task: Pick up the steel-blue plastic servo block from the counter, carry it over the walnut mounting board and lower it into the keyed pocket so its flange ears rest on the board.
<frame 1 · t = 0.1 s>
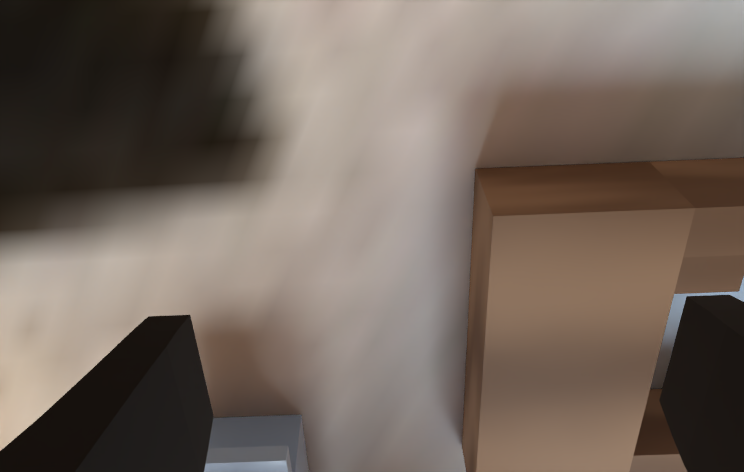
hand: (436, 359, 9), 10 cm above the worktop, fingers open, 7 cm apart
board: (698, 317, 22), on the worktop
servo: (263, 459, 25), on the worktop
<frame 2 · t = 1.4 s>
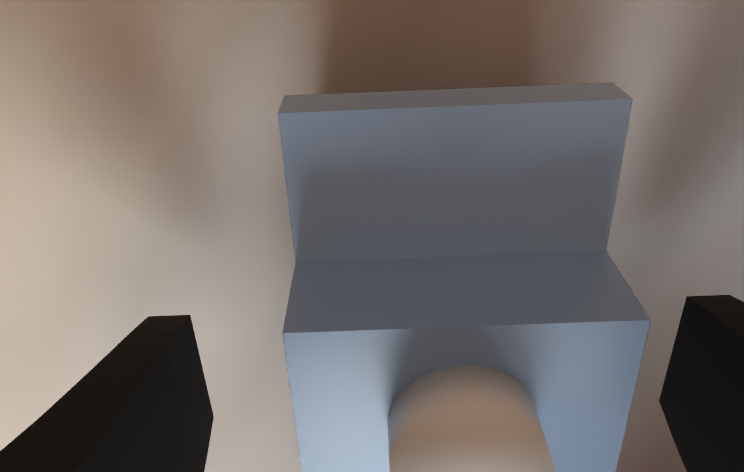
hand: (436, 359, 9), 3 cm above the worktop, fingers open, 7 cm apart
servo: (424, 266, 12), on the worktop
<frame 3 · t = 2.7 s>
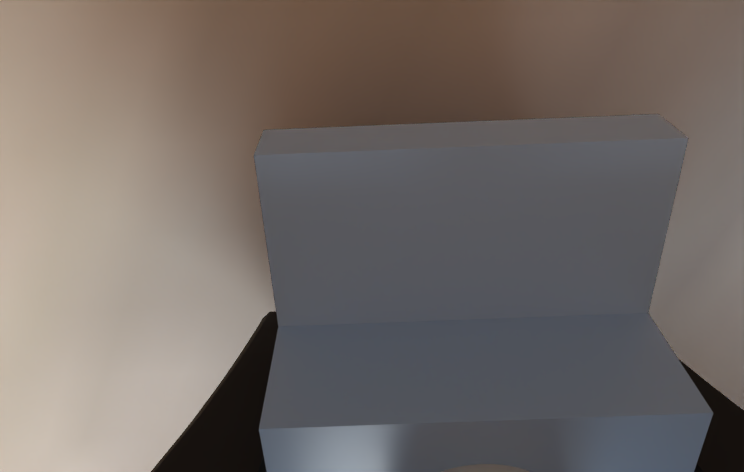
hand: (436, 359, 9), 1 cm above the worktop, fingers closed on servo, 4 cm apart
servo: (427, 302, 11), on the worktop, touching gripper
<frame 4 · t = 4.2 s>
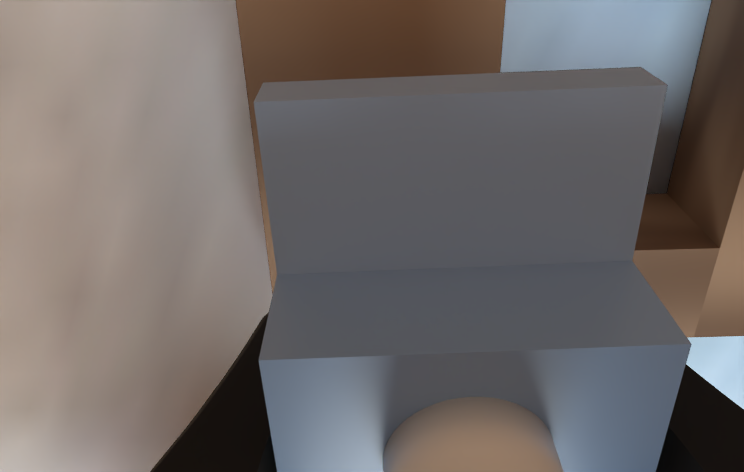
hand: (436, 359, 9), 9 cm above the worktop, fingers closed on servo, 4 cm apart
board: (584, 79, 16), on the worktop
servo: (422, 273, 11), point 7 cm above the worktop, touching gripper
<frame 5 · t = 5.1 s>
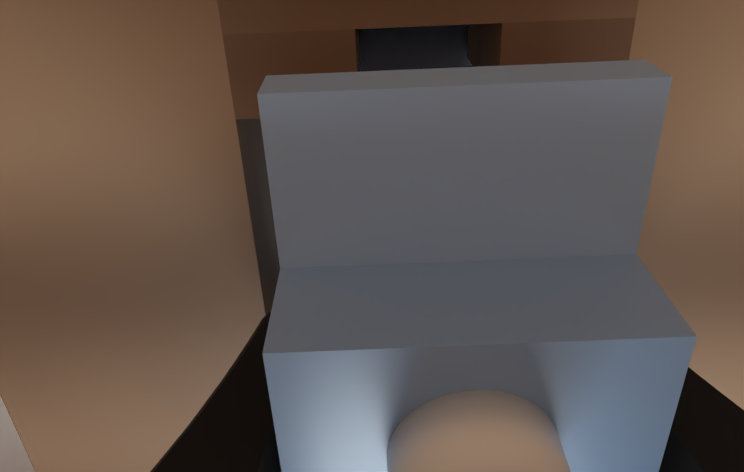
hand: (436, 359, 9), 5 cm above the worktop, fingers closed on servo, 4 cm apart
board: (414, 214, 13), on the worktop
servo: (424, 270, 11), point 3 cm above the worktop, touching gripper
when the fingers open (4 cm above the worktop, at t = 5.7 s): servo drops 2 cm, resting on board.
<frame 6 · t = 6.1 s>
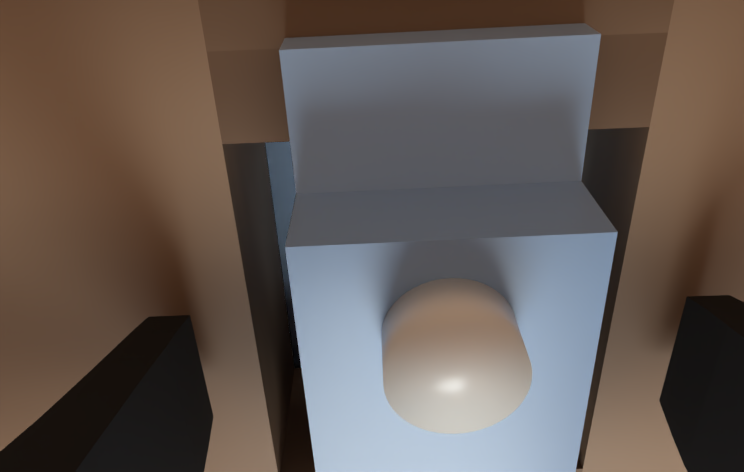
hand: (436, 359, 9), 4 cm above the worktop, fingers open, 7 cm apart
board: (418, 237, 12), on the worktop
servo: (417, 220, 12), resting on board
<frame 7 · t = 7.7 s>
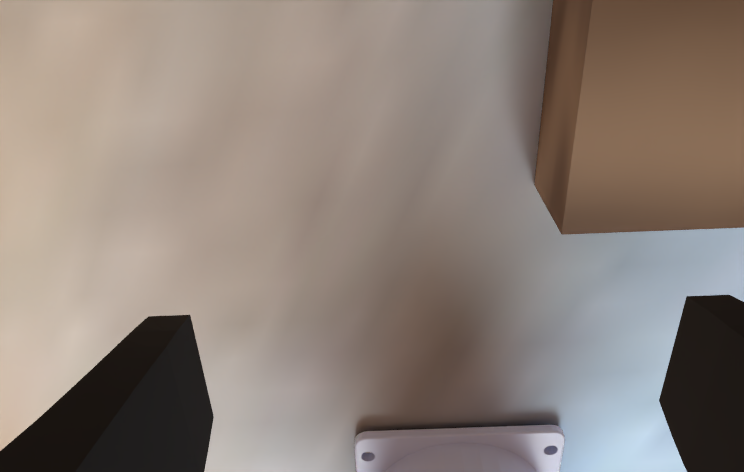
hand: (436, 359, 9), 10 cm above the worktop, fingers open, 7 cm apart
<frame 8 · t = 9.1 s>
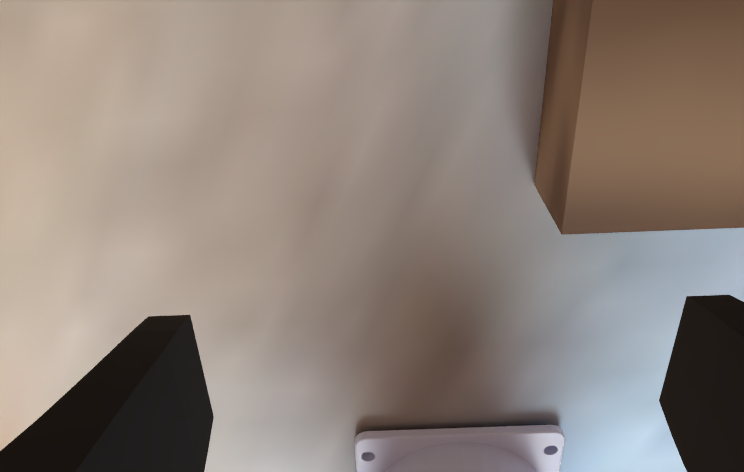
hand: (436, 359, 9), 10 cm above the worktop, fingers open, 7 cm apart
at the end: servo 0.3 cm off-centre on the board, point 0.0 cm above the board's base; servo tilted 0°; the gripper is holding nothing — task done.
